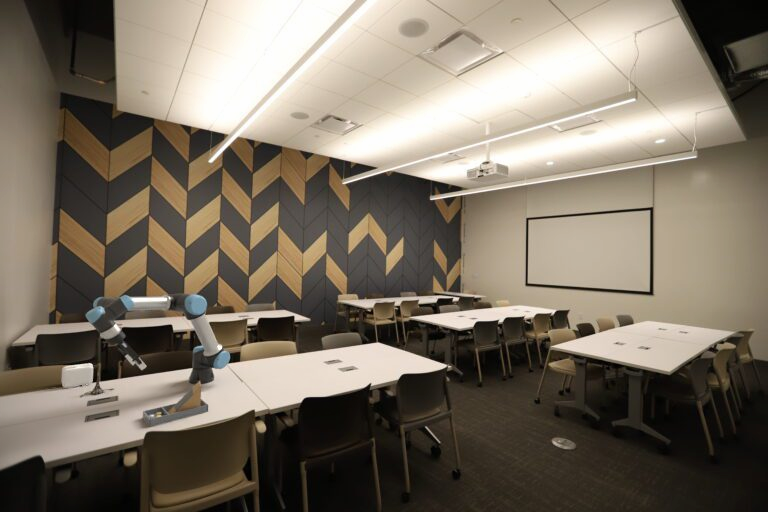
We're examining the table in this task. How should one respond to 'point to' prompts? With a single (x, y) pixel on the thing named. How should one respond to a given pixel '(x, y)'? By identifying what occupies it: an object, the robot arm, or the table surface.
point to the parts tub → (162, 416)
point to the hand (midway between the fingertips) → (139, 365)
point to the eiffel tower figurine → (96, 389)
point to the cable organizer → (77, 375)
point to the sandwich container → (188, 400)
